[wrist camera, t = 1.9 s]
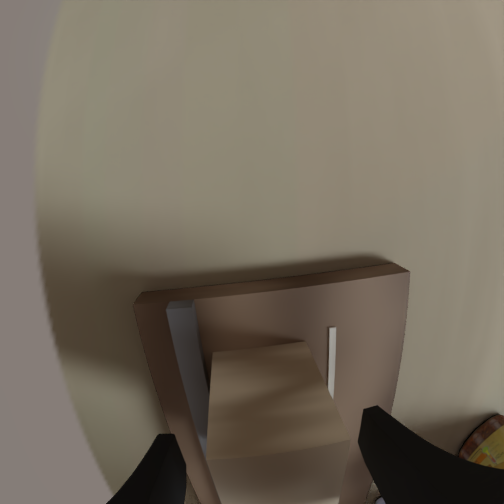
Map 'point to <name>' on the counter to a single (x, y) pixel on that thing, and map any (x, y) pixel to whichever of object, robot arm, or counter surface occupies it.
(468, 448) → the sauce bottle
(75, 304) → the counter surface
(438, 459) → the robot arm
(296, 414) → the maple block
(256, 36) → the counter surface
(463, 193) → the counter surface
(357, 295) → the walnut board
